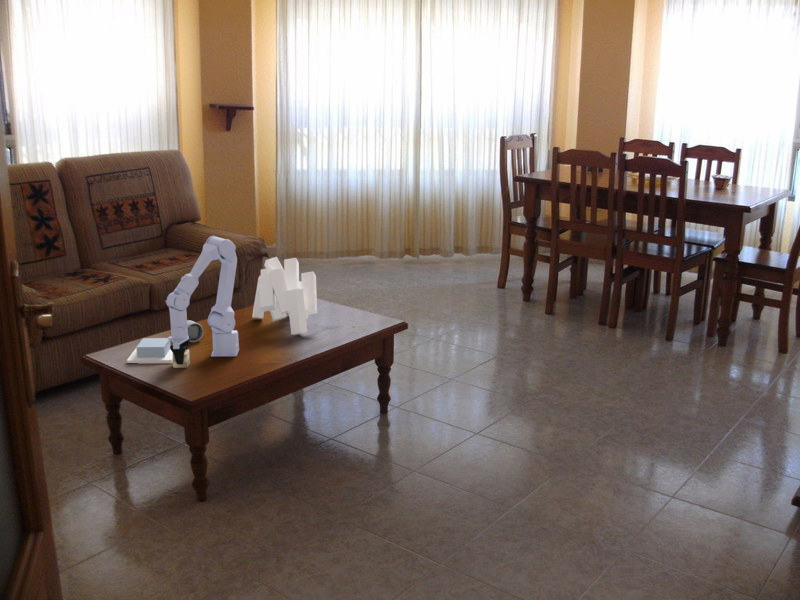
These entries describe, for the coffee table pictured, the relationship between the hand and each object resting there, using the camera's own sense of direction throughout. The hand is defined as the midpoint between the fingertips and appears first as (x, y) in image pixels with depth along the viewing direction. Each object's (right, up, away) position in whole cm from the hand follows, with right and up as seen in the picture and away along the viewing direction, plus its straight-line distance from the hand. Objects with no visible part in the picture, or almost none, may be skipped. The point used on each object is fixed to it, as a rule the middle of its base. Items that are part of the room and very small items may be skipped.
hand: (181, 361), depth 300 cm
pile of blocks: (+31, +12, +48) cm, 58 cm away
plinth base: (-12, +1, +9) cm, 16 cm away
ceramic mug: (-4, +6, +27) cm, 28 cm away
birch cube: (0, -1, 0) cm, 1 cm away
